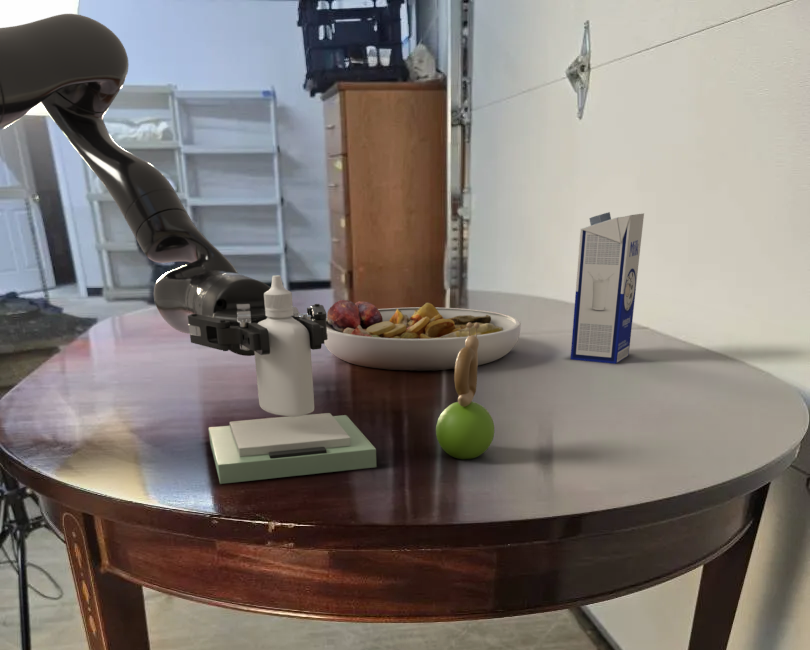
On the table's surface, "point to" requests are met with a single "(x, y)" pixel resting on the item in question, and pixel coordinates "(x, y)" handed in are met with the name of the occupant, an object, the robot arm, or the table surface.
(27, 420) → the table surface
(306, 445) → the scale
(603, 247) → the milk carton
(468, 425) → the snail figurine
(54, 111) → the robot arm
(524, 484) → the table surface
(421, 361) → the bowl
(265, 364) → the eye dropper bottle
